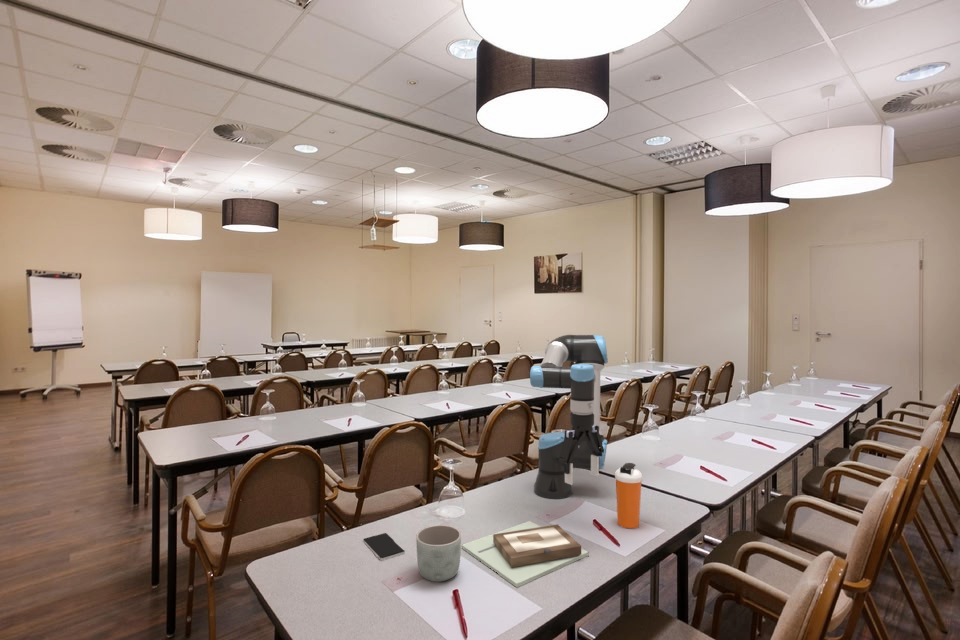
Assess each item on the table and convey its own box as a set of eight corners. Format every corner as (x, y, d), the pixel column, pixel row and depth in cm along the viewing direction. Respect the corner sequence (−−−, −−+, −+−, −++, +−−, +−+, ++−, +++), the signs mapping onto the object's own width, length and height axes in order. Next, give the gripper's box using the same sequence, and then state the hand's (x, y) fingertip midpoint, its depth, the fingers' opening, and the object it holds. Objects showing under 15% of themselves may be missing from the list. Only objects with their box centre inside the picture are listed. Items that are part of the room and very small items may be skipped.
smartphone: (386, 532, 157) (406, 550, 145) (386, 536, 157) (406, 554, 145) (362, 538, 153) (380, 558, 140) (362, 542, 153) (380, 562, 140)
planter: (443, 591, 125) (443, 550, 125) (407, 577, 132) (406, 538, 132) (469, 569, 136) (469, 531, 135) (434, 557, 142) (434, 521, 142)
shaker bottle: (643, 521, 166) (643, 463, 166) (640, 532, 158) (640, 471, 158) (616, 516, 170) (617, 460, 170) (612, 526, 162) (612, 467, 162)
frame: (493, 542, 148) (493, 532, 148) (557, 531, 155) (557, 522, 155) (512, 568, 133) (512, 557, 133) (582, 555, 140) (582, 545, 140)
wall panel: (461, 548, 148) (461, 544, 148) (529, 523, 164) (529, 520, 164) (516, 587, 127) (516, 583, 127) (588, 555, 143) (588, 551, 143)
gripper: (564, 419, 145) (564, 491, 146) (615, 409, 159) (615, 474, 160) (547, 415, 151) (547, 483, 152) (597, 406, 165) (597, 468, 166)
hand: (582, 479), depth 156 cm, fingers open, 12 cm apart
